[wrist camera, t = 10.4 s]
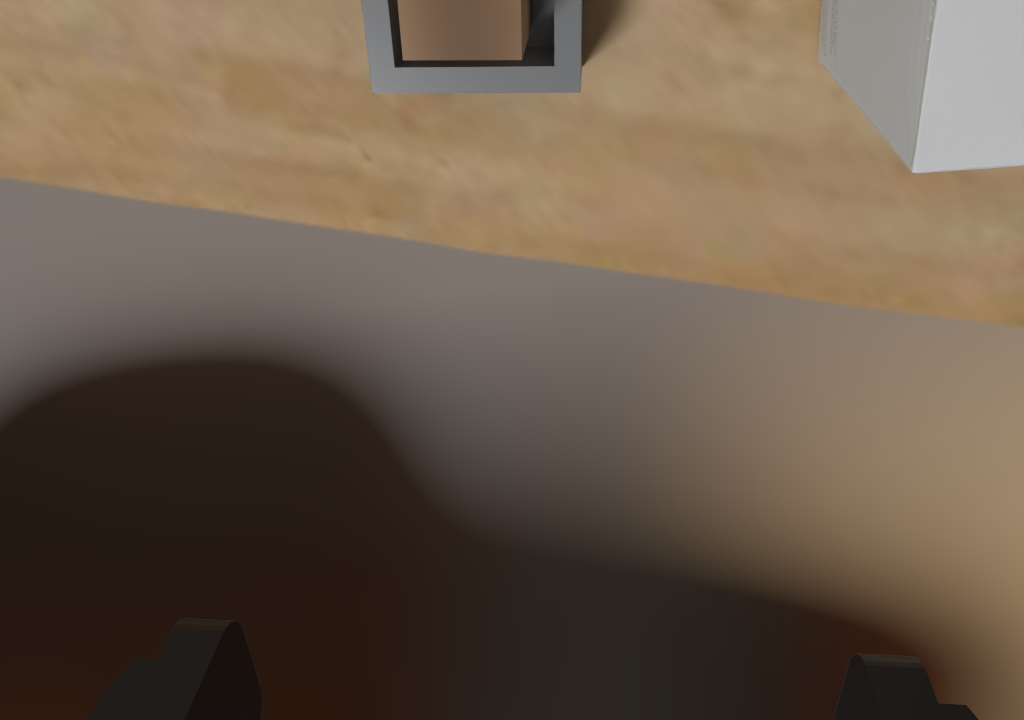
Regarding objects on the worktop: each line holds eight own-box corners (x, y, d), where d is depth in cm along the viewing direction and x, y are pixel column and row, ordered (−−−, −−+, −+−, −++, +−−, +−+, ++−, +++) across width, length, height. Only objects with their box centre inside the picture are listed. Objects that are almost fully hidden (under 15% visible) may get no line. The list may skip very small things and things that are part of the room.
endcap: (390, 68, 37) (372, 93, 34) (377, -60, 35) (356, -45, 32) (581, 67, 37) (580, 92, 34) (583, -64, 34) (582, -49, 31)
